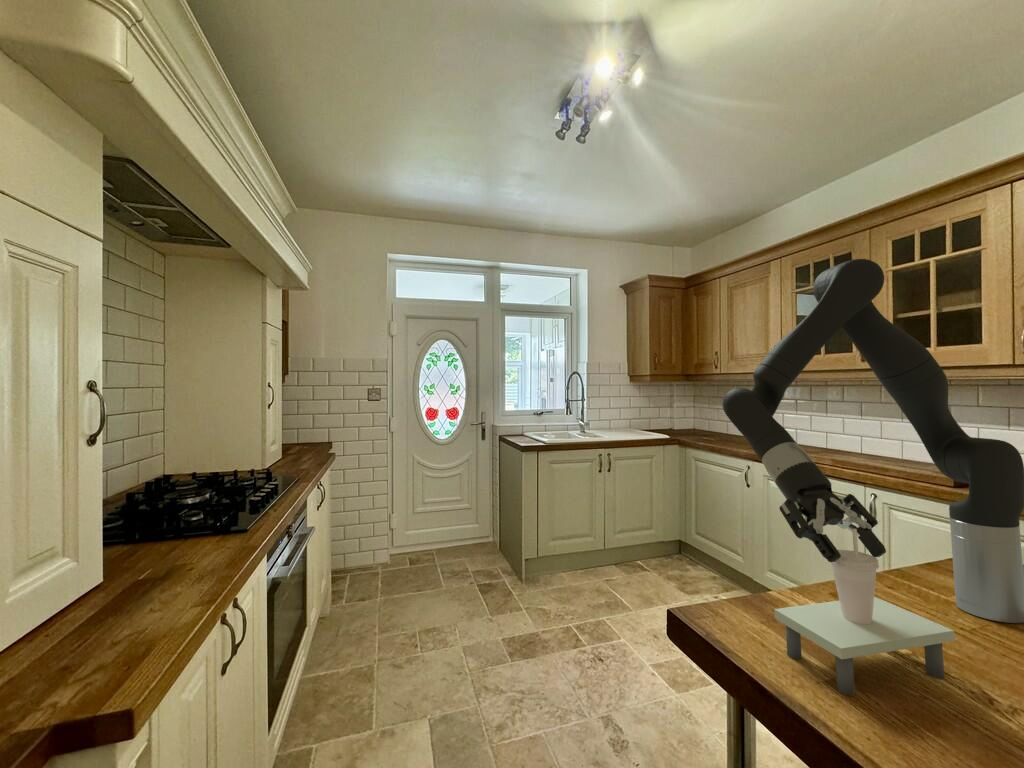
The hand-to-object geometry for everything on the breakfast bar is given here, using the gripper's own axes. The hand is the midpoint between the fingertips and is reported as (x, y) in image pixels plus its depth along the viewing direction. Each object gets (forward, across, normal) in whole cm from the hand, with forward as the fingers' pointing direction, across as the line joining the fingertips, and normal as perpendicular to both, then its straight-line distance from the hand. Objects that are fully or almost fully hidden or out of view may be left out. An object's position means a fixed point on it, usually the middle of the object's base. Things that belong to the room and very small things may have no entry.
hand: (858, 557), depth 69 cm
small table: (+12, 0, +12) cm, 17 cm away
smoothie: (+6, 0, +8) cm, 10 cm away
